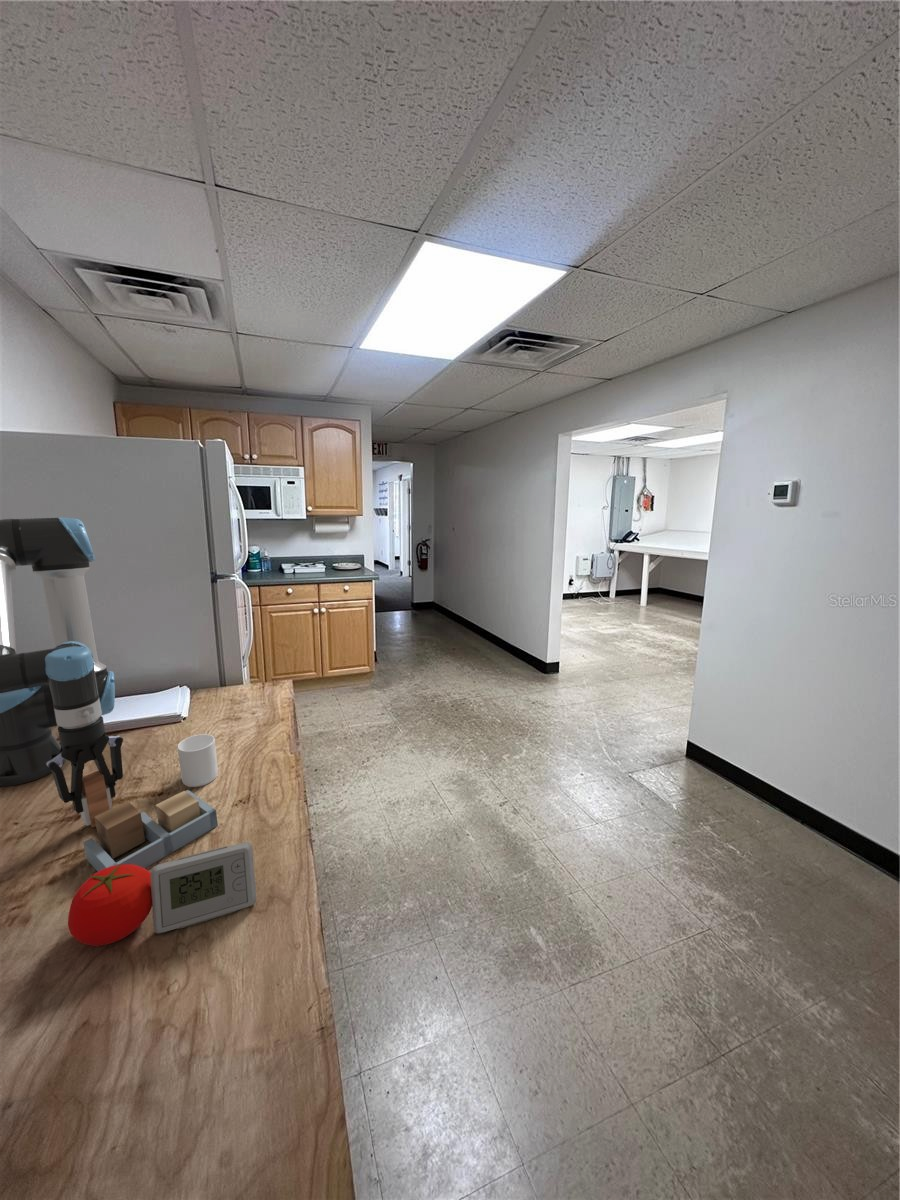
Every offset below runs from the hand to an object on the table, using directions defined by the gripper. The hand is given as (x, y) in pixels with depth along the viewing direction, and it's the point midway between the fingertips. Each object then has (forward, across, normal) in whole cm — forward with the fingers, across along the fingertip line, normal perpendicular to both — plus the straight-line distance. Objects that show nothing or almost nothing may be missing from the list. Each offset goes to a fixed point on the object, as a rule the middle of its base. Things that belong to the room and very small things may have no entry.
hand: (98, 816), depth 104 cm
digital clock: (+2, +2, -41) cm, 41 cm away
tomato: (+2, -8, -32) cm, 33 cm away
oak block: (+2, +9, -17) cm, 19 cm away
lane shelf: (+1, +4, -16) cm, 17 cm away
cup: (+2, +23, 0) cm, 23 cm away
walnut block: (+1, 0, -7) cm, 7 cm away
